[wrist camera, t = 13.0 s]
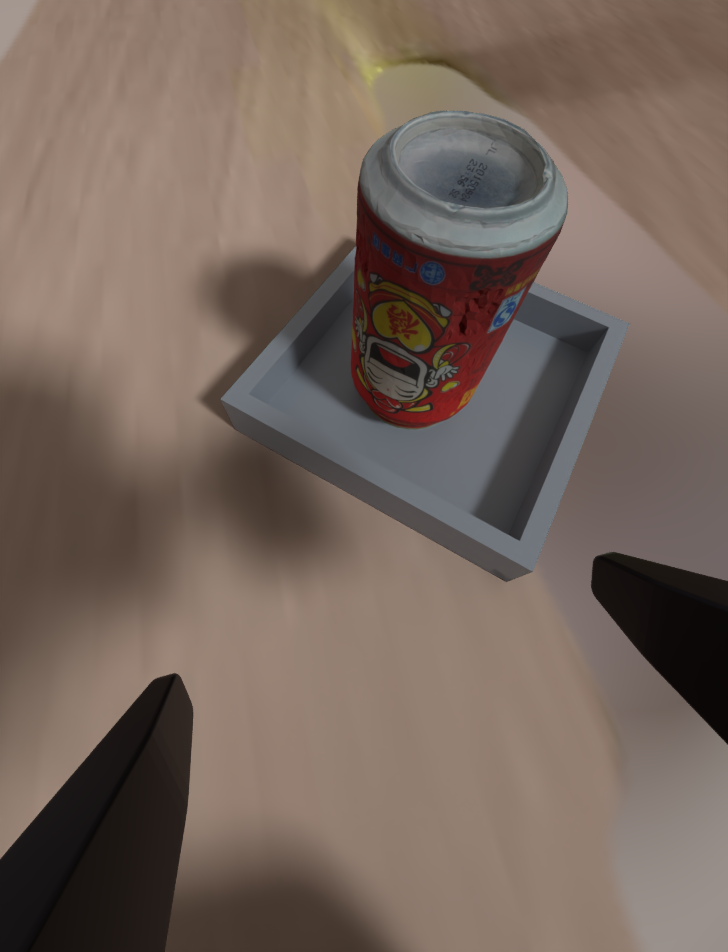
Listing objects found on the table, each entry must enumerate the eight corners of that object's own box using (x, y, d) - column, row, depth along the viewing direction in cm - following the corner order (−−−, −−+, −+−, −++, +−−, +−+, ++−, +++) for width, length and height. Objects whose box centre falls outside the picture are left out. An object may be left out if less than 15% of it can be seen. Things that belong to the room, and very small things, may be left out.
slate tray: (599, 356, 26) (629, 323, 24) (506, 581, 20) (532, 571, 17) (378, 257, 29) (381, 216, 26) (234, 428, 23) (220, 399, 20)
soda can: (330, 416, 23) (323, 185, 11) (374, 328, 25) (403, 74, 14) (448, 459, 22) (565, 260, 11) (480, 365, 25) (598, 128, 13)
